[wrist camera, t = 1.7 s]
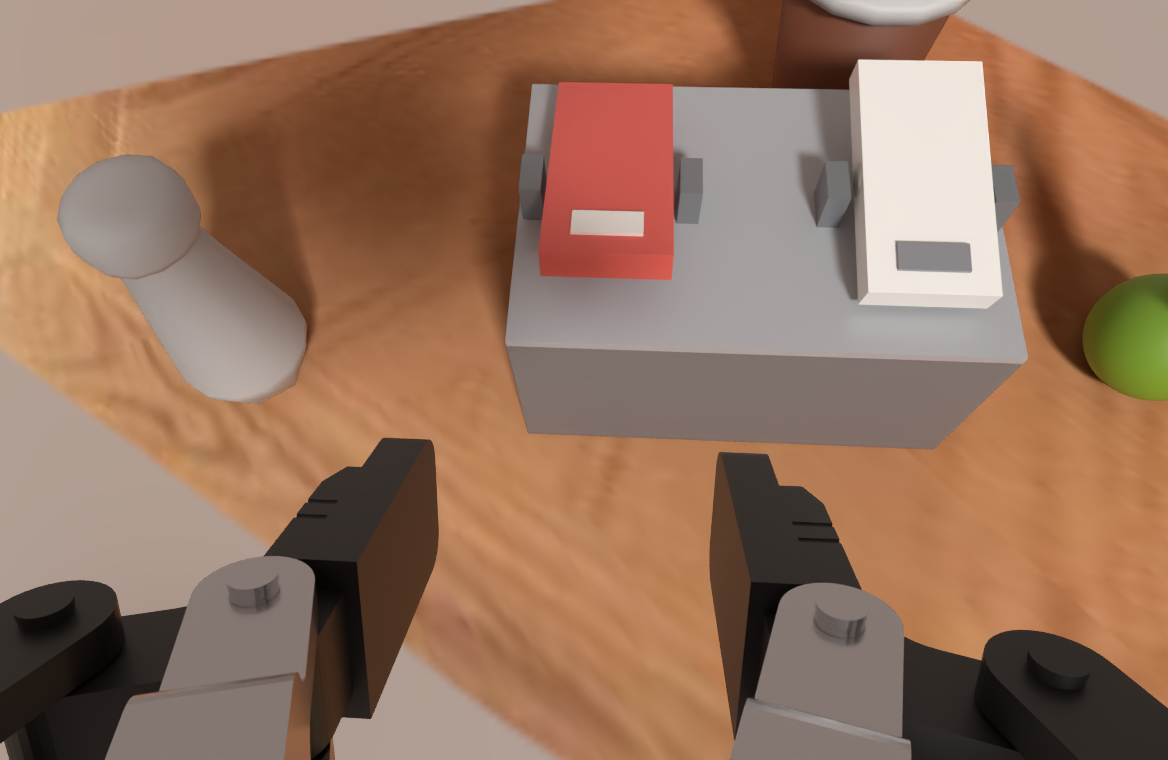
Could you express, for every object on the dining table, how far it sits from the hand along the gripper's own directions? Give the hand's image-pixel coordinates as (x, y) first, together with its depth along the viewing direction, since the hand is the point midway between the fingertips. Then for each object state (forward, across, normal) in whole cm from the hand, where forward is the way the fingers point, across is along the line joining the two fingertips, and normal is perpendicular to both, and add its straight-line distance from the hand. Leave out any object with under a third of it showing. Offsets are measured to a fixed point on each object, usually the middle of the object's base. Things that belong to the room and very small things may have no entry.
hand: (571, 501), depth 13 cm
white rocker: (+19, -11, -3) cm, 22 cm away
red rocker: (+19, 0, -3) cm, 19 cm away
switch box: (+27, -6, +5) cm, 28 cm away
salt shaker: (+25, +16, +7) cm, 30 cm away
